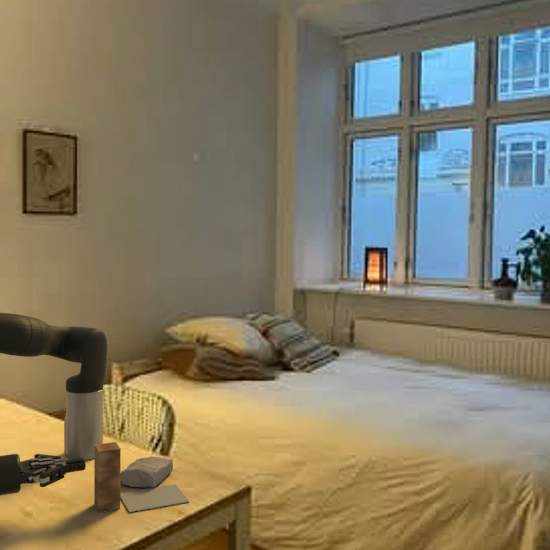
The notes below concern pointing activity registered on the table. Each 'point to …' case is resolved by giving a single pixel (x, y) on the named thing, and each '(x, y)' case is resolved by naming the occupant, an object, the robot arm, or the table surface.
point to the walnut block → (107, 477)
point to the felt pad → (153, 498)
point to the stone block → (146, 472)
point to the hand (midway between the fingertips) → (84, 463)
